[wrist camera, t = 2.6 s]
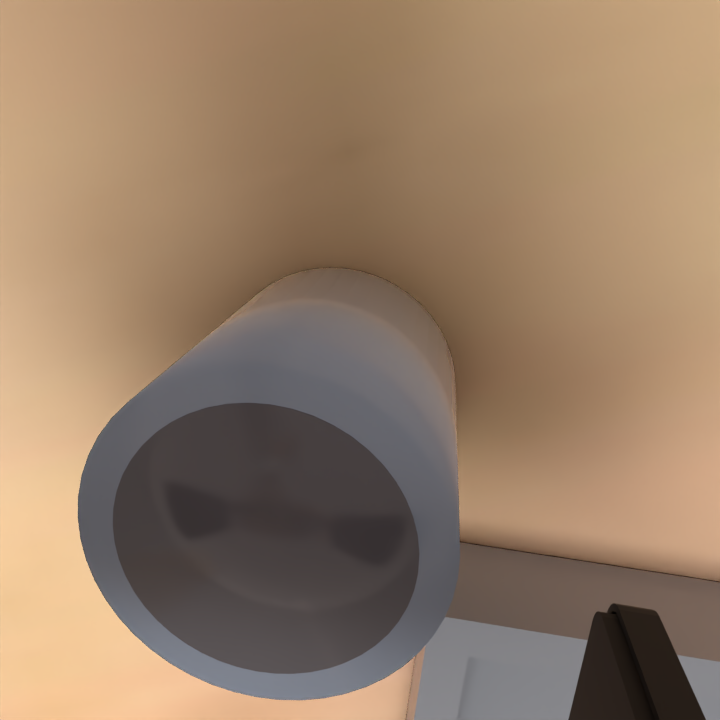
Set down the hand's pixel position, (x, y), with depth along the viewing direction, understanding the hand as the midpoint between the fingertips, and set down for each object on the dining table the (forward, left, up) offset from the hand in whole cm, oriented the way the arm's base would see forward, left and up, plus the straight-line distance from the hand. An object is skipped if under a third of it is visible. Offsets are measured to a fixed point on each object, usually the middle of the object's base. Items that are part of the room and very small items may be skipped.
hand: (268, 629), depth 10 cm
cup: (-1, 0, -8) cm, 8 cm away
